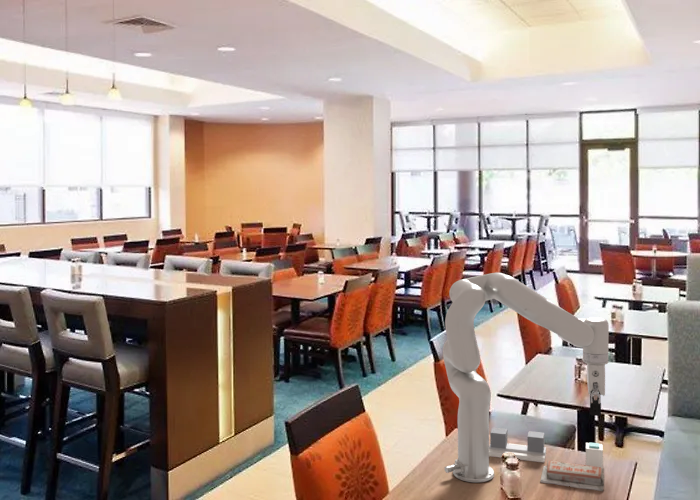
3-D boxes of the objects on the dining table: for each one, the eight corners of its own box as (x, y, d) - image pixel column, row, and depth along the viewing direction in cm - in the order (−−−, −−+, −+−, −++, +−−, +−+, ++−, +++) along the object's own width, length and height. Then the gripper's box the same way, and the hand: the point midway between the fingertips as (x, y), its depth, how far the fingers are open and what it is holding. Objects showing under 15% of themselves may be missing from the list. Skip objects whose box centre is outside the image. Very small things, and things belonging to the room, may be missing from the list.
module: (585, 466, 210) (585, 446, 210) (585, 460, 215) (585, 440, 214) (602, 468, 208) (602, 448, 208) (602, 462, 213) (602, 442, 213)
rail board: (488, 455, 220) (488, 434, 219) (491, 445, 228) (491, 425, 228) (544, 462, 214) (544, 440, 213) (546, 451, 222) (546, 430, 222)
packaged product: (604, 463, 202) (603, 477, 193) (604, 478, 202) (603, 493, 193) (543, 455, 209) (539, 468, 199) (543, 470, 209) (539, 483, 200)
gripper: (609, 365, 199) (608, 420, 201) (607, 351, 215) (607, 402, 217) (582, 363, 201) (582, 418, 203) (583, 349, 218) (583, 400, 219)
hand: (595, 410), depth 210 cm, fingers open, 9 cm apart
